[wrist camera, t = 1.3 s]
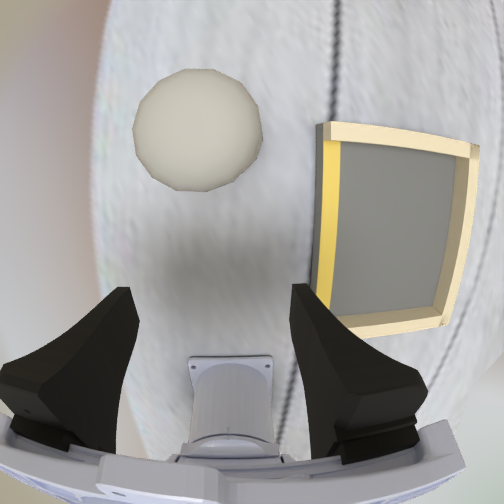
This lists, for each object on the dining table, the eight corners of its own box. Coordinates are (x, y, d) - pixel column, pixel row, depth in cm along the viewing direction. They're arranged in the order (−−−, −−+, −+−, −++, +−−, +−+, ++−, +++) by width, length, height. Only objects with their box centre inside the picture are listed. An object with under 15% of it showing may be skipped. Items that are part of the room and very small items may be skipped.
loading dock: (428, 305, 26) (447, 324, 23) (307, 317, 26) (317, 343, 22) (452, 142, 21) (479, 145, 17) (315, 124, 20) (330, 121, 17)
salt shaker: (164, 129, 20) (73, 116, 8) (230, 84, 19) (218, 8, 7) (209, 192, 22) (172, 255, 9) (275, 149, 21) (324, 155, 9)
